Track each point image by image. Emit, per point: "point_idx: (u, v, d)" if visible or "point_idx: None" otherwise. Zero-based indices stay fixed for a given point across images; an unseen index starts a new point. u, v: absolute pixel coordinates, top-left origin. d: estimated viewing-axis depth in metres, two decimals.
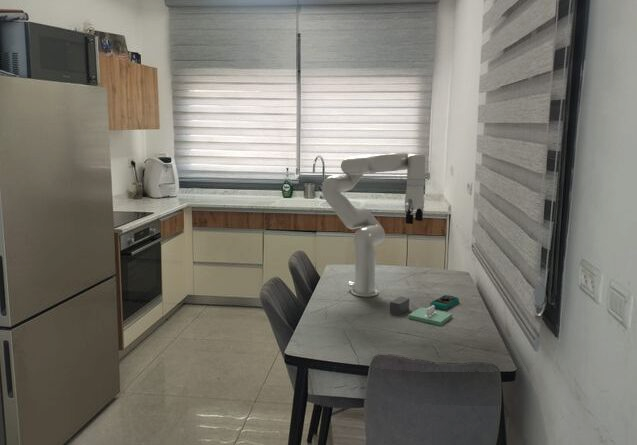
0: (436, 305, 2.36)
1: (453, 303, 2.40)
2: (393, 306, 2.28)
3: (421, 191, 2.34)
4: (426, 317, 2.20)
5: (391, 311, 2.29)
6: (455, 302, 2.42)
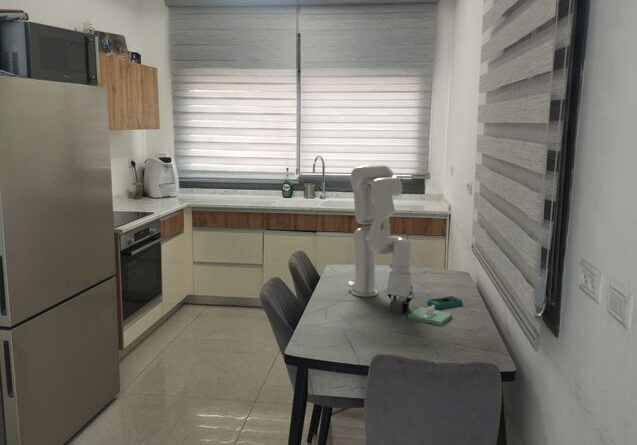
0: (431, 303, 2.38)
1: (452, 304, 2.39)
2: (393, 306, 2.28)
3: None
4: (426, 317, 2.20)
5: (391, 311, 2.29)
6: (456, 304, 2.40)
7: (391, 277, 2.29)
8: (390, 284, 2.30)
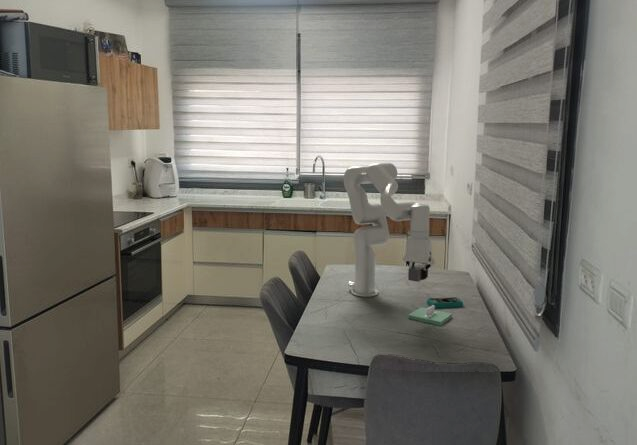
0: (428, 302, 2.40)
1: (451, 305, 2.38)
2: (412, 273, 2.21)
3: None
4: (426, 317, 2.20)
5: (409, 278, 2.22)
6: (455, 305, 2.38)
7: (409, 243, 2.22)
8: (408, 251, 2.23)
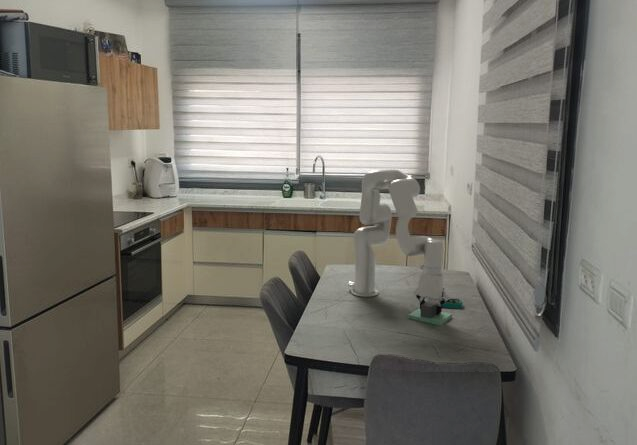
0: None
1: (448, 305, 2.37)
2: (424, 309, 2.20)
3: None
4: None
5: (422, 314, 2.21)
6: (453, 306, 2.37)
7: (422, 278, 2.21)
8: (421, 286, 2.22)
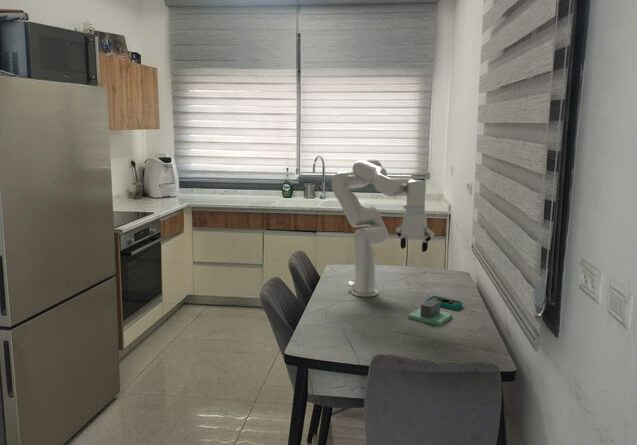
0: None
1: (444, 305, 2.37)
2: (424, 309, 2.20)
3: None
4: None
5: (422, 314, 2.21)
6: (448, 306, 2.36)
7: (405, 218, 2.27)
8: (404, 225, 2.28)
